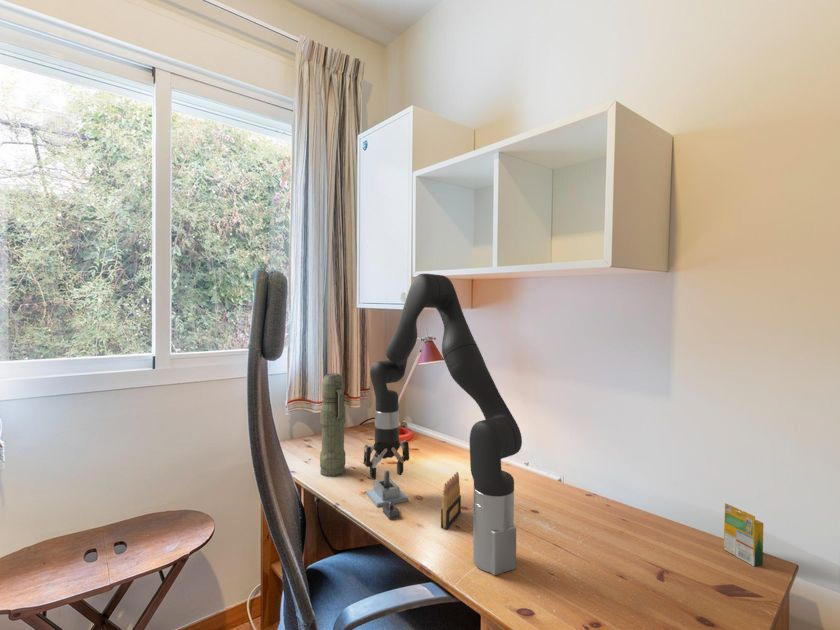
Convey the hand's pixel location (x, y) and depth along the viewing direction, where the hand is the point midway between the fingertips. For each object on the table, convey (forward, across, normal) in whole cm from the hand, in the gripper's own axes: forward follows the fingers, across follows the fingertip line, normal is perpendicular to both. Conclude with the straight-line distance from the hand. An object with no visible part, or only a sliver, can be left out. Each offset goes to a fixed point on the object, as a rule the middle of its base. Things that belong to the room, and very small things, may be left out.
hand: (386, 476), depth 132 cm
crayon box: (+7, +65, -66) cm, 93 cm away
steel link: (+5, 0, 0) cm, 5 cm away
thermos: (+6, -10, +27) cm, 30 cm away
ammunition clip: (+7, +11, -21) cm, 25 cm away
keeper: (+6, 0, 0) cm, 6 cm away
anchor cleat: (+6, -3, -11) cm, 13 cm away
